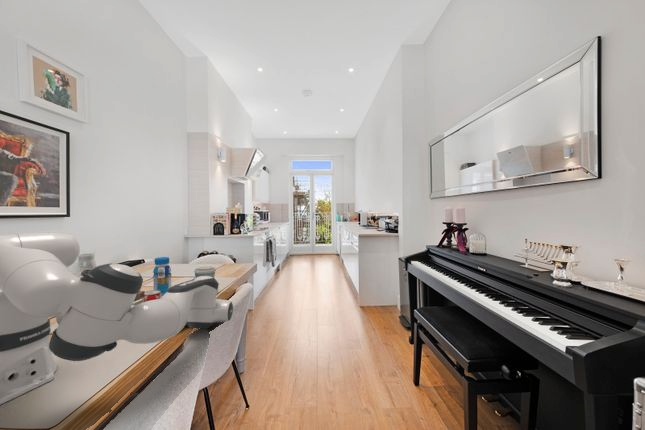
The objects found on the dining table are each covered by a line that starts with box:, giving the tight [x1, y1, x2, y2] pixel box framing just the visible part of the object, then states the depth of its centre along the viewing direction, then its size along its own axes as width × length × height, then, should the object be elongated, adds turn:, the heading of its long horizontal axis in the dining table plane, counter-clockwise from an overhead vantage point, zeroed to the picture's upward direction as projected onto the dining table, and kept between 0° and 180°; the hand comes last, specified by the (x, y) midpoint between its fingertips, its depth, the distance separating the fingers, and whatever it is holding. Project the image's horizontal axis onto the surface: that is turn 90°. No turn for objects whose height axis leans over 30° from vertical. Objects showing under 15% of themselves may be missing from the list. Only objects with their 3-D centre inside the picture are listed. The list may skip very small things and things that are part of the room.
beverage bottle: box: [152, 256, 172, 296], centre depth 146 cm, size 8×8×20 cm
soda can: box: [142, 289, 162, 303], centre depth 112 cm, size 7×7×12 cm
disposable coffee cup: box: [193, 266, 217, 278], centre depth 147 cm, size 11×11×15 cm
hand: (161, 308), depth 112 cm, fingers closed, pressing on soda can
